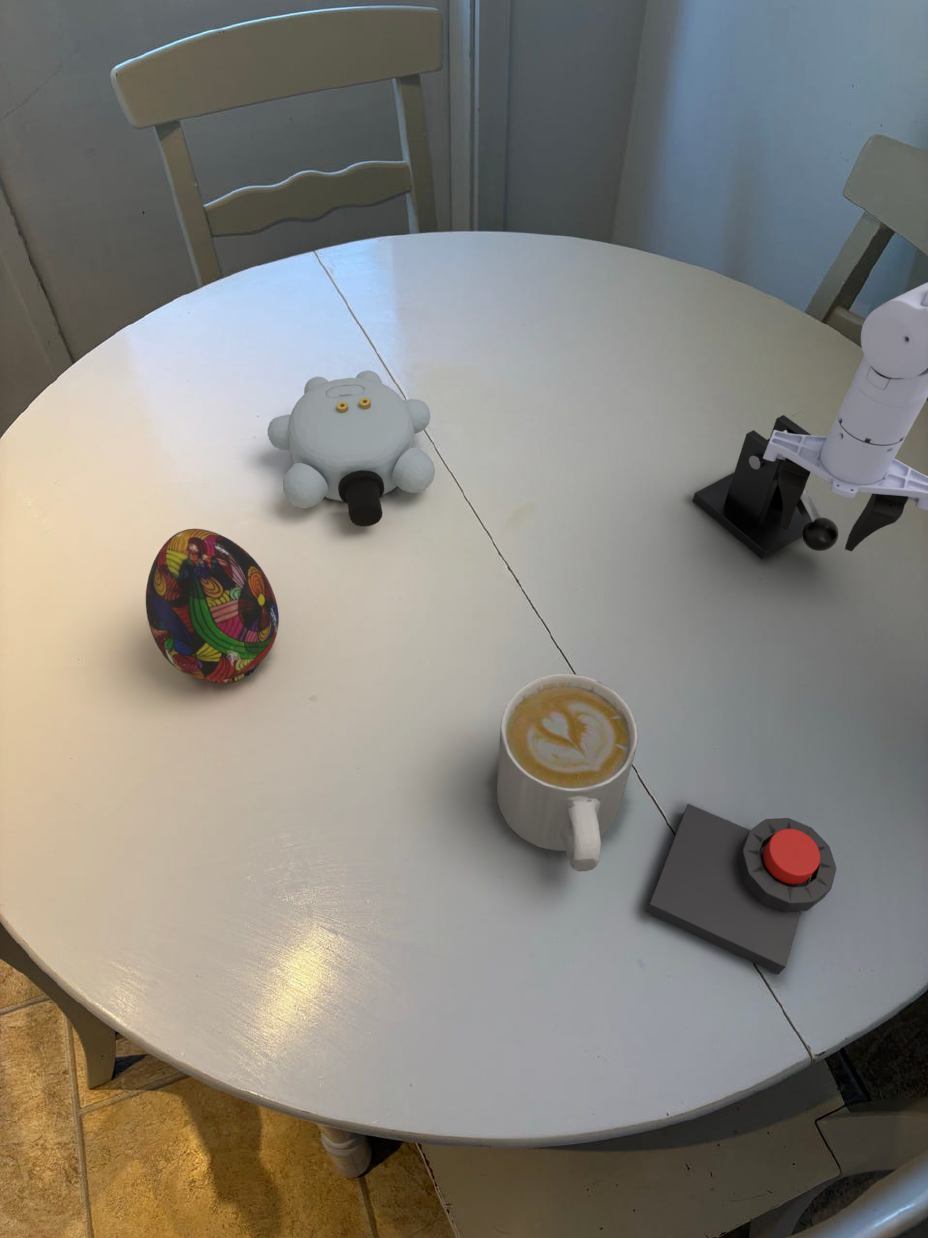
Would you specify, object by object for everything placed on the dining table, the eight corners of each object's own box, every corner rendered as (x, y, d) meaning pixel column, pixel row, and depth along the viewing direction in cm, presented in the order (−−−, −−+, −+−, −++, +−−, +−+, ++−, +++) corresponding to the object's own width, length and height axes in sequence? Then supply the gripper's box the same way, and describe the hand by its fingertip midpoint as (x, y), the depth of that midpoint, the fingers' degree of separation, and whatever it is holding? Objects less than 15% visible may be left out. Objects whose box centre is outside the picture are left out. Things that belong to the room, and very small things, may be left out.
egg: (220, 724, 76) (175, 616, 64) (144, 659, 81) (89, 546, 69) (311, 648, 81) (285, 535, 69) (235, 590, 86) (198, 474, 74)
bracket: (818, 527, 90) (852, 449, 82) (762, 560, 88) (791, 483, 80) (747, 471, 96) (773, 393, 88) (692, 501, 93) (713, 423, 85)
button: (818, 851, 66) (825, 841, 64) (806, 893, 64) (814, 884, 62) (770, 830, 67) (776, 820, 65) (757, 871, 65) (763, 862, 63)
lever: (828, 545, 87) (851, 538, 84) (805, 559, 86) (827, 552, 83) (771, 437, 87) (792, 425, 84) (747, 449, 86) (768, 438, 83)
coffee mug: (499, 736, 75) (503, 669, 68) (617, 743, 75) (634, 676, 67) (492, 890, 67) (495, 833, 59) (624, 898, 67) (645, 842, 59)
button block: (828, 859, 69) (843, 840, 66) (796, 983, 63) (811, 967, 60) (688, 800, 72) (697, 779, 69) (645, 912, 66) (653, 894, 63)
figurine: (269, 418, 101) (285, 558, 90) (255, 359, 94) (271, 505, 83) (420, 398, 103) (452, 533, 92) (418, 339, 96) (453, 479, 85)
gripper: (775, 424, 73) (732, 535, 84) (956, 480, 70) (887, 588, 81) (794, 376, 77) (751, 487, 88) (968, 426, 74) (900, 536, 85)
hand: (817, 532), depth 85 cm, fingers open, 5 cm apart
